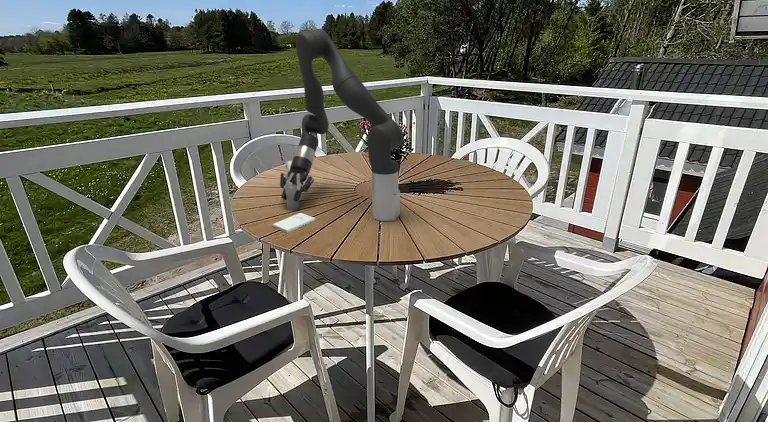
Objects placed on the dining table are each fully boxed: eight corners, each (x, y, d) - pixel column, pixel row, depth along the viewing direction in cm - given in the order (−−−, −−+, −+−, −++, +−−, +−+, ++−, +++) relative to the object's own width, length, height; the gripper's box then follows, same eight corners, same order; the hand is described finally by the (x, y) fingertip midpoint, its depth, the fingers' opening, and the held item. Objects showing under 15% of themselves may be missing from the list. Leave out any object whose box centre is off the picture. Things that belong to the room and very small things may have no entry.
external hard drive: (272, 228, 136) (300, 216, 145) (287, 234, 131) (315, 221, 140) (271, 223, 135) (299, 212, 144) (287, 230, 130) (315, 217, 139)
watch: (299, 182, 177) (297, 158, 173) (298, 188, 170) (295, 163, 166) (287, 182, 177) (284, 159, 172) (285, 188, 169) (282, 164, 165)
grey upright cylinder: (301, 206, 151) (298, 181, 147) (295, 211, 147) (292, 185, 143) (291, 205, 153) (288, 180, 149) (285, 209, 149) (282, 184, 145)
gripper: (282, 153, 151) (268, 193, 146) (315, 156, 147) (301, 198, 141) (291, 163, 158) (278, 201, 152) (323, 166, 153) (310, 206, 148)
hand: (289, 199), depth 147 cm, fingers closed on grey upright cylinder, 4 cm apart
